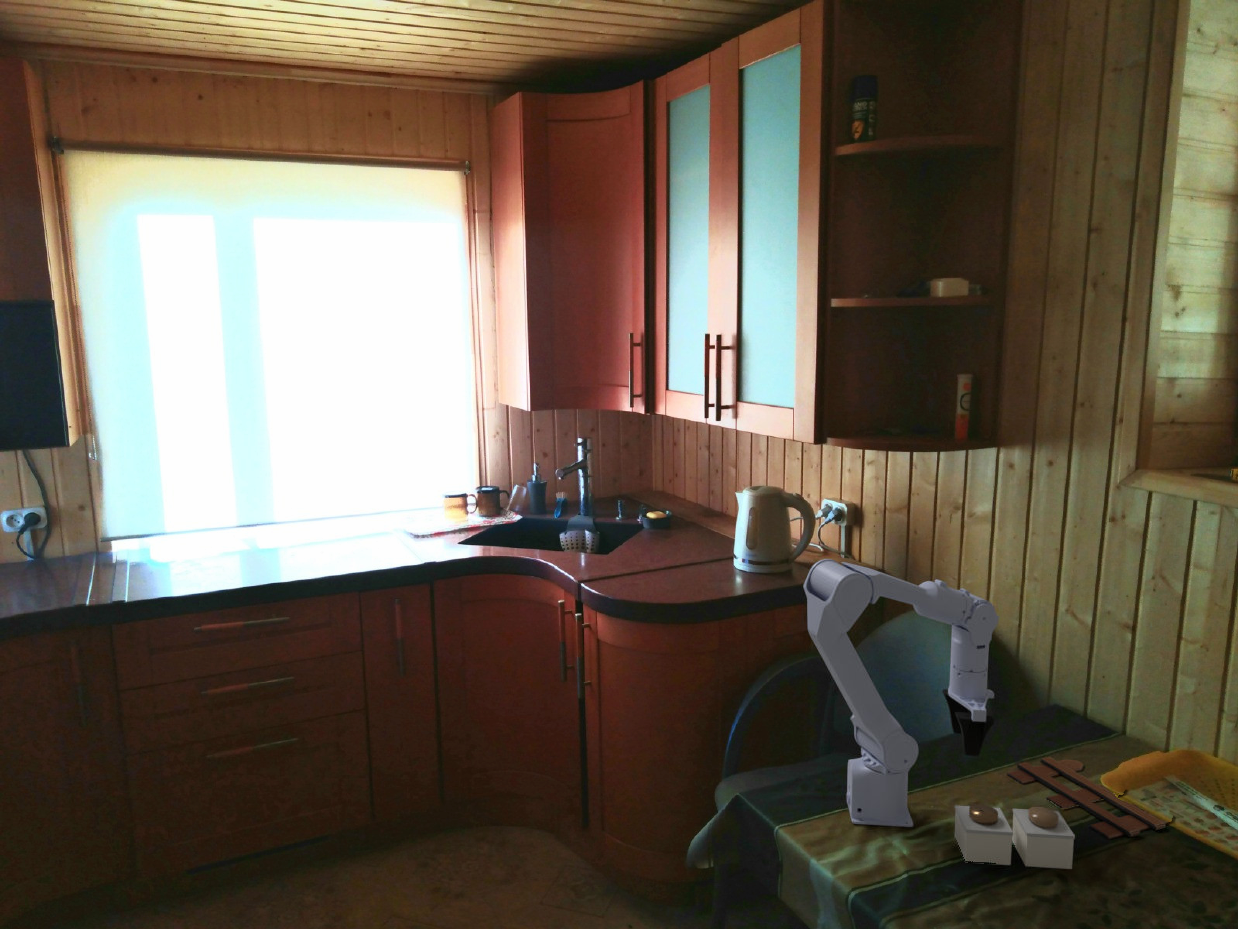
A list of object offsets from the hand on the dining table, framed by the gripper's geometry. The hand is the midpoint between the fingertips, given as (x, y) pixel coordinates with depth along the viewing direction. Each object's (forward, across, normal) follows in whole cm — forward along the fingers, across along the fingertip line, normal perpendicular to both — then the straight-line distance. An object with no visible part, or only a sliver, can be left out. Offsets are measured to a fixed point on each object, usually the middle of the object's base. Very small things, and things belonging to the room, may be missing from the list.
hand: (965, 743), depth 142 cm
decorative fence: (+11, +3, -21) cm, 24 cm away
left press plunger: (+9, -15, +1) cm, 18 cm away
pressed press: (+10, -15, -8) cm, 19 cm away
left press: (+10, -15, +1) cm, 18 cm away
